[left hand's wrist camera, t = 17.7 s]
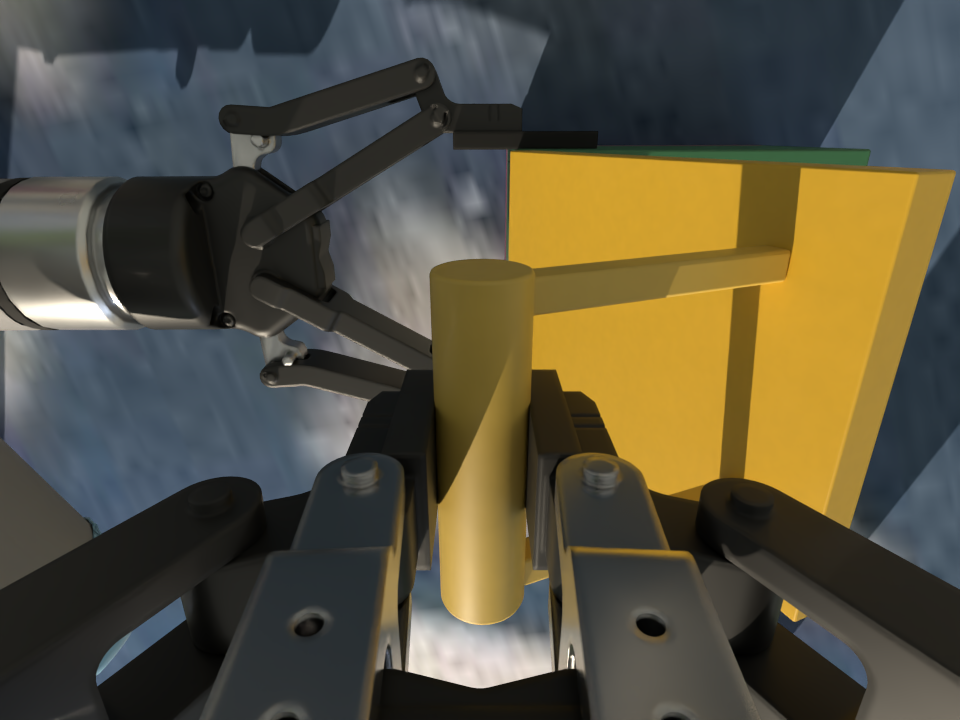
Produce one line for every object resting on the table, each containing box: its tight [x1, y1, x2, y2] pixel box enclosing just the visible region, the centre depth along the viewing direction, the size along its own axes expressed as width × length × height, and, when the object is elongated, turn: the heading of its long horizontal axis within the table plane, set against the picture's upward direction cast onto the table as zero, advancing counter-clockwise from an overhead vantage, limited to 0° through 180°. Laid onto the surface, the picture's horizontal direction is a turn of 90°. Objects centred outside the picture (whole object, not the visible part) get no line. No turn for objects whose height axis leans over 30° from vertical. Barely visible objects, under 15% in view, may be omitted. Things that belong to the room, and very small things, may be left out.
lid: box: [430, 150, 956, 625], centre depth 17 cm, size 15×10×9 cm
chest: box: [505, 145, 871, 261], centre depth 30 cm, size 15×10×10 cm
